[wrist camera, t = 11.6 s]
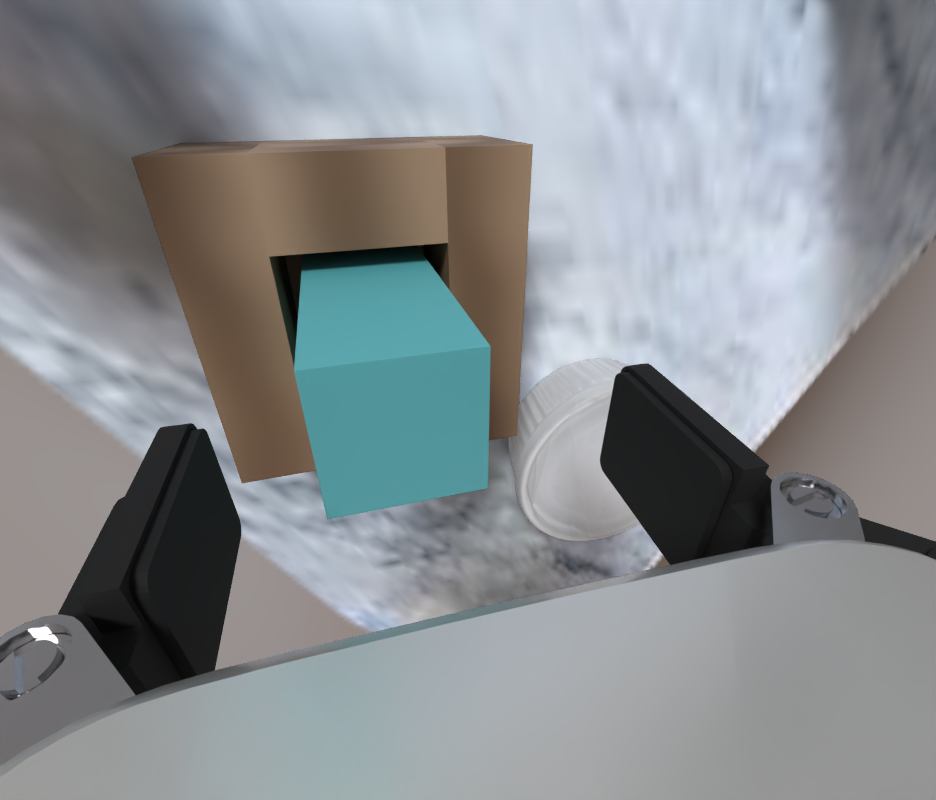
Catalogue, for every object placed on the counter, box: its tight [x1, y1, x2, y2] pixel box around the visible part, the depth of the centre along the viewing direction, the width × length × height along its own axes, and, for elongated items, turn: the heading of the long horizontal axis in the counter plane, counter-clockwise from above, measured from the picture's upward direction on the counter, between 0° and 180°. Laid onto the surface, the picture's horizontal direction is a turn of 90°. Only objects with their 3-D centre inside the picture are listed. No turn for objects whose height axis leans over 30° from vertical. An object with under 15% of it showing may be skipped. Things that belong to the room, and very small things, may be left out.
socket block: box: [132, 135, 533, 483], centre depth 20 cm, size 12×12×6 cm
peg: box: [294, 245, 491, 519], centre depth 17 cm, size 4×4×12 cm
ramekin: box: [508, 359, 691, 541], centre depth 29 cm, size 11×11×5 cm
